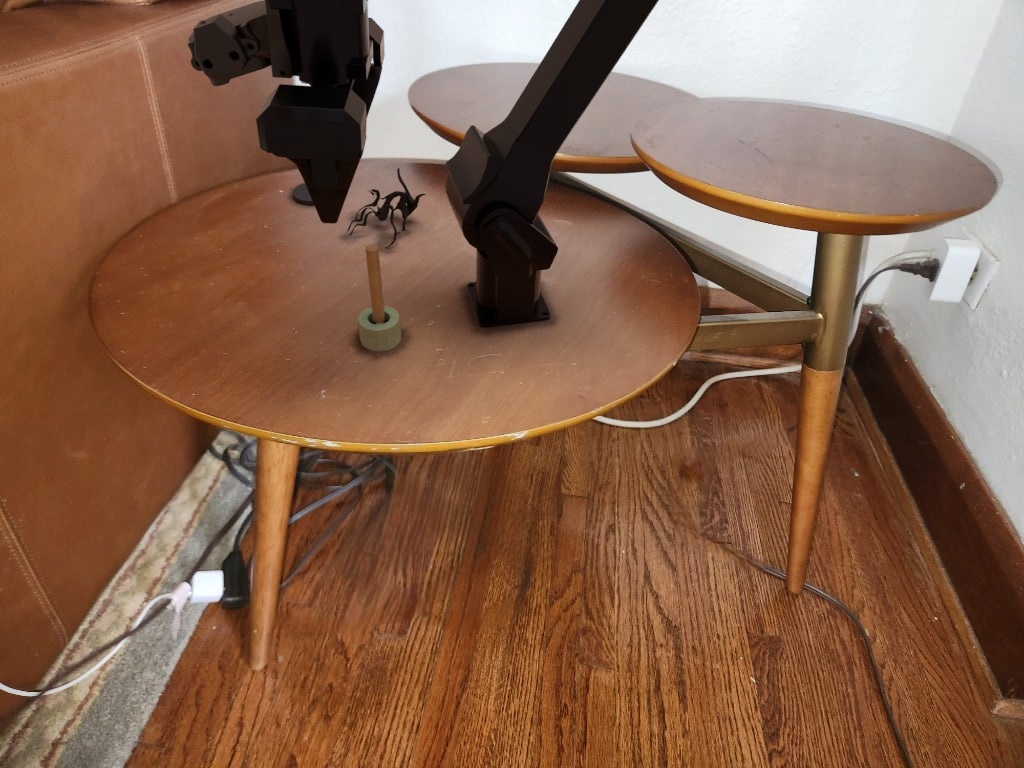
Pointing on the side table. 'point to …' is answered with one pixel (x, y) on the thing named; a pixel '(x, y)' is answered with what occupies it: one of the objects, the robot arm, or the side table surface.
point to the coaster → (302, 195)
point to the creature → (390, 207)
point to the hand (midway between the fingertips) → (337, 191)
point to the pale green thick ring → (379, 330)
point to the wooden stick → (375, 283)
